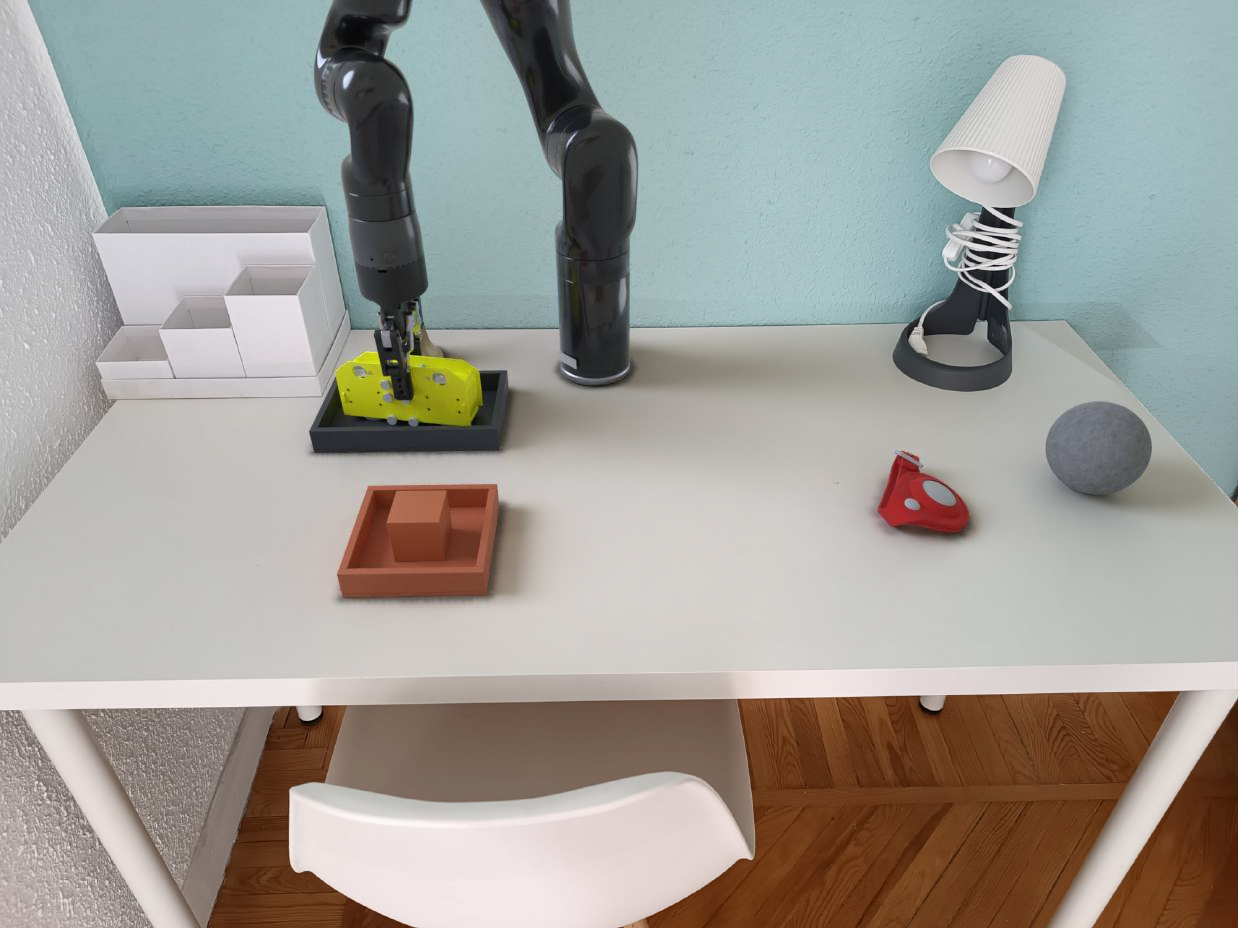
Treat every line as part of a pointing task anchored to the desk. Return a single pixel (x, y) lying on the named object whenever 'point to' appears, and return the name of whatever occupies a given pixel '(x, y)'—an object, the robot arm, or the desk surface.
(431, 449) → the charcoal tray
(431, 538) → the terracotta block
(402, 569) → the terracotta tray
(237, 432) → the desk surface
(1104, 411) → the decorative ball
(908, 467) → the tracker holder
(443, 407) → the yellow toy chassis
